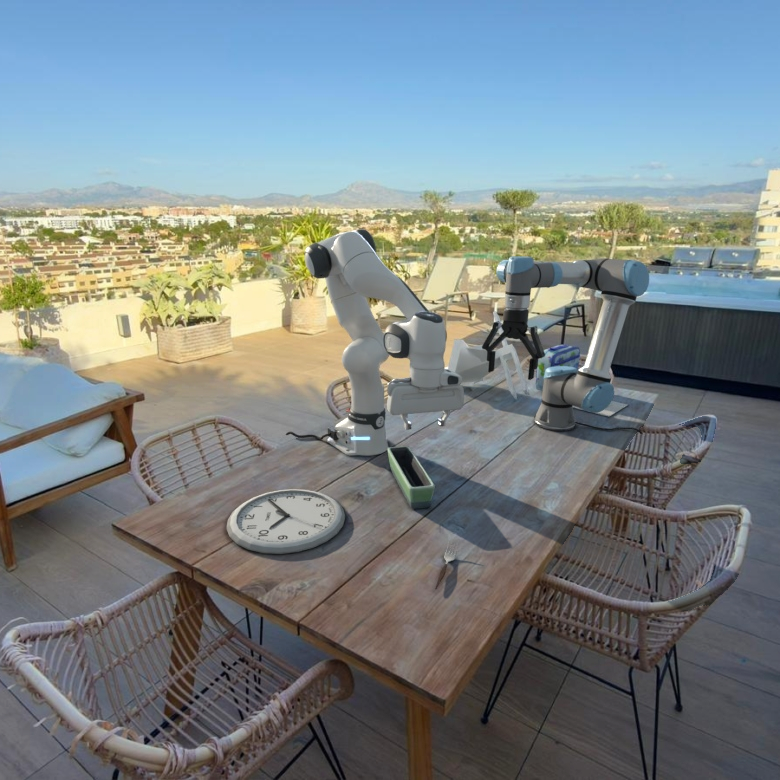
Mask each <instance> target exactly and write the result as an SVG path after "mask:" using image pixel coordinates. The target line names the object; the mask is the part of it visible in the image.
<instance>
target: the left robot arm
mask: <svg viewBox="0 0 780 780" xmlns="http://www.w3.org/2000/svg"><path fill="white" fill-rule="evenodd" d="M376 247H377V246H376V243H375V240H374V237H373V236H372V234H371V232H369V231H368V230H367V229H365V228H363V229H362V228H358V229H353V230H351V231H345V232H342V233H337V234H333V236H331V237H328V238H325V239H323V240H320V241H318V242H313V243H312V244H309V245H308V246H307V247H306V248H305V250H304V262H305V267H306V269H307V270H308V271H309V273H310V275H311V276H312V277H314V278H315V279H319V280H321V279H325V285H326V289H327V293H328V296H329V300H330V303H331V305H332V308H333V310H334V313H335V316H336V319H337V321H338V324H339V326H340V327H341V328H343V329H344V330H345V331H346V333H347V334H348V336H349V337H350V339H351V340H352V342H350V343H349V344H348V345H347V346H346V347H345V349H344V350H343V352H342V354H341V363H342V367H343V368H344V370H345V371H346V372H347V374H348V375H347V376H348V378H349V383H350V395H351V396H350V399H351V401H350V403H351V405H350V407H349V408H346V409H345V413H348V414H347V417H345V418H344V419H343V420H341V421H340V422H338V423H336V425H335V426H329V427H327V433H325V434H323V435H321V436H318V435H316V434H302V435H301V434H297V433H295V432H293V431H287V432H286V433H285V436H289V435H292V436H293V437H296V438H298V439H307V438H313V439H316V440H319V441H320V440H323V439H325V438H326V437H328V438H327V439H326V442H327V443H328V444H330V446H332V447H334V448H336V449H337V450H339V451H340V452H341V453H343V454H345V455H346V456H348V457H349V456H367V457H368V456H377V455H380V454H383V453H385V452H387V451H388V450H387V449H388V448H389V443H388V437H387V431H386V430H387V429H386V422H385V421H386V415H387V414H386V413H387V411H388V412H389V414H390V415H392V416H400V418H401V419H402V420H401V421H403V428H404V430H405V431H409V430H412V425H413V424H412V422H411V421H410V420H407V419H408V417H409V415H412V414H413V415H414V414H425V413H426V414H427V413H436V412H438V413H439V412H441V413H442V415H441V417H440V418H437V425H438V426H439V427H445V426H446V424H447V423H446V422H447V420H448V419H449V417H450V415H451V411H457V410H458V411H459V410H462V408H463V407H464V406H465V405H464V404H465V392H464V391H465V390H464V387H463V385H462V384H463V383H462V377H461V376H460V375H459V374H457V373H455V372H454V371H451V370H448V369H444V368H446V367H445V365H446V364H445V360H444V355H445V352H446V347H447V346H446V344H447V339H448V333H447V328H446V324H445V320H444V318H443V316H442V315H440V314H439V313H437V312H435V311H430V310H429V309H428V308H427V307H426V306H425V305H424V303H423V302H422V301H421V300H420V298H419V297H418V296H417V295H416V294H415V292H414V291H413V290H412V289H411V287H409V285H408V284H407V283H406V282H405V281H404V280H403V279H402V278H400V276H398V275H397V274H395V273H394V272H393V271H391V270H390V269H389V268H388V267H387V265H385V264H384V263H383V261H382V260H381V259H380V257H379V256H378V254H377V248H376ZM367 298H369V299H370V298H371V299H377V300H381V301H384V302H388V303H390V304H392V305H394V306H395V307H397V309H399V311H400V313H402V315H403V316H404V317H405V318H406V319H404V320H400V321H399V320H398V321H395V322H393V323H390V324H388V325H387V326H386V328H385V329H384V331H383V330H382V328H381V326H380V325H379V323H378V322H377V320H376V318H375V316H374V315H373V312H372V309H371V306H370V304H369V301H368V299H367ZM389 357H391V358H394V359H407V360H409V377H403V378H393V379H392V380H391V381H389V382H388V383H387V387H386V388H387V389H386V392H387V393H386V394H387V399H386V400H387V401H386V408H385V385H384V384H383V382H382V379H381V373H380V368H381V365H382V364H384V363H385V362H386V361H388V359H389ZM386 410H387V411H386Z"/></svg>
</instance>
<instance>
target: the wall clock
mask: <svg viewBox="0 0 780 780" xmlns="http://www.w3.org/2000/svg"><path fill="white" fill-rule="evenodd" d="M345 520H346V515H345V511H344V508H343V507H342V505H341V504H340V503H339V502H338V501H337V500H336V499H334V498H333V497H331V496H329V495H327V494H324V493H322V492H319V491H315V490H309V489H298V488H297V489H295V488H292V489H289V488H288V489H280V490H279V489H278V490H274V491H270V492H269V491H268V492H265V493H262V494H260V495H257V496H254V497H252V498H250V499H248V500H246V501H245V502H243V503H241V504H240V505H239V506H237V508H236V509H234V510H233V511H232V512H231V514H230V516H229V517H228V519H227V522H226V531H227V534H228V537H229V538H230V539H231V540H232V541H233V542H234V543H235V544H236V545H238V546H240V547H242V548H244V549H246V550H248V551H253V552H256V553H261V554H271V555H273V554H274V555H281V554H282V555H283V554H291V553H300V552H303V551H306V550H311V549H314V548H316V547H318V546H320V545H322V544H325V543H328V541H330V540H332V538H334V537H335V536H336V535H338V533H339V532H340V531H341V530H342V528H343V527H344V524H345Z"/></svg>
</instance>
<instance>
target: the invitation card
mask: <svg viewBox="0 0 780 780" xmlns="http://www.w3.org/2000/svg"><path fill="white" fill-rule="evenodd" d="M628 406H629V404H627V403H623V402H618V401H614V400H612V401H611V403H610V404H609V406H608V407H607V408H605V409H604V410H603V411H601V412H597V413H594V412H590V411H587V413H593V414H596V415H600V416H604V417H608V418H609V417H611V416H613V415H614V414H616V413H617V412H619V411H621V410H623V409H624V408H626V407H628ZM573 409H575V410H581V411H584V412H586V411H585V410H583V409H581V408H579V407H576V406H573Z"/></svg>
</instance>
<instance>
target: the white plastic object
mask: <svg viewBox="0 0 780 780" xmlns="http://www.w3.org/2000/svg"><path fill="white" fill-rule="evenodd" d="M492 315H493V319H494V322H497V321H499V322H500V323H502V321H501V318H500V315H499V314H498V312H497V311H496V310H495V311H492ZM497 332H498V335H499V336H500V335H501V334H502V333H503V332H504V331H503V329H502V327H501V328H500V329H498V331H497ZM490 345H491V344H490ZM490 345H489V346H490ZM501 345H502V347H500V348H498V349H496V350H495V349H494V350H493V351H496V352H495V364H494V370H496V369H497V368H499V367H500V366H502V370H503V373H504V376H505V380H506V383H507V386H508V390H509V393H510V394H511V395H512V397H513V398H514V399H515V400H517V392H516V391H517V390H516V388H515V385H514V381H513V378H512V375H511V371H510V369H509V365H508V361H510V360H513V363H514V366H515V369H516V372H517V376H518V380H519V382H520V385H521V389H522V391H523V393H524V395H525V396H526V397H528V396H531V395H530V390H529V388H528V387H529V386H528V384H527V381H526V378H525V375H524V371H523V369H522V368H523V367H522V366H521V362H520V359H519V355H518V352H517V349H516V347H515V346H514V345H513V343H511V344H508V341H507V337H506V338H505V339H504V340H503V341H502V342H501ZM482 346H483V344H479V345H473V346H469V345H468V343H466V342H465V340H464V339H463V338H460V339H458V338H454V340H453V344H452V349H451V353H450V357H449V362H448V366H446V367H445V368H444V369H448V370H451V371H454V372H455V373H457V374H459V375H460V376H461V377H462V383H461V384H467V383H468V384H469V383H473V384H477V383H480V382H482V381H484V378H485V377H486V376H487V375H489V374H490V373H491V372H488V368H489V361H487V350H485V349H482Z"/></svg>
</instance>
